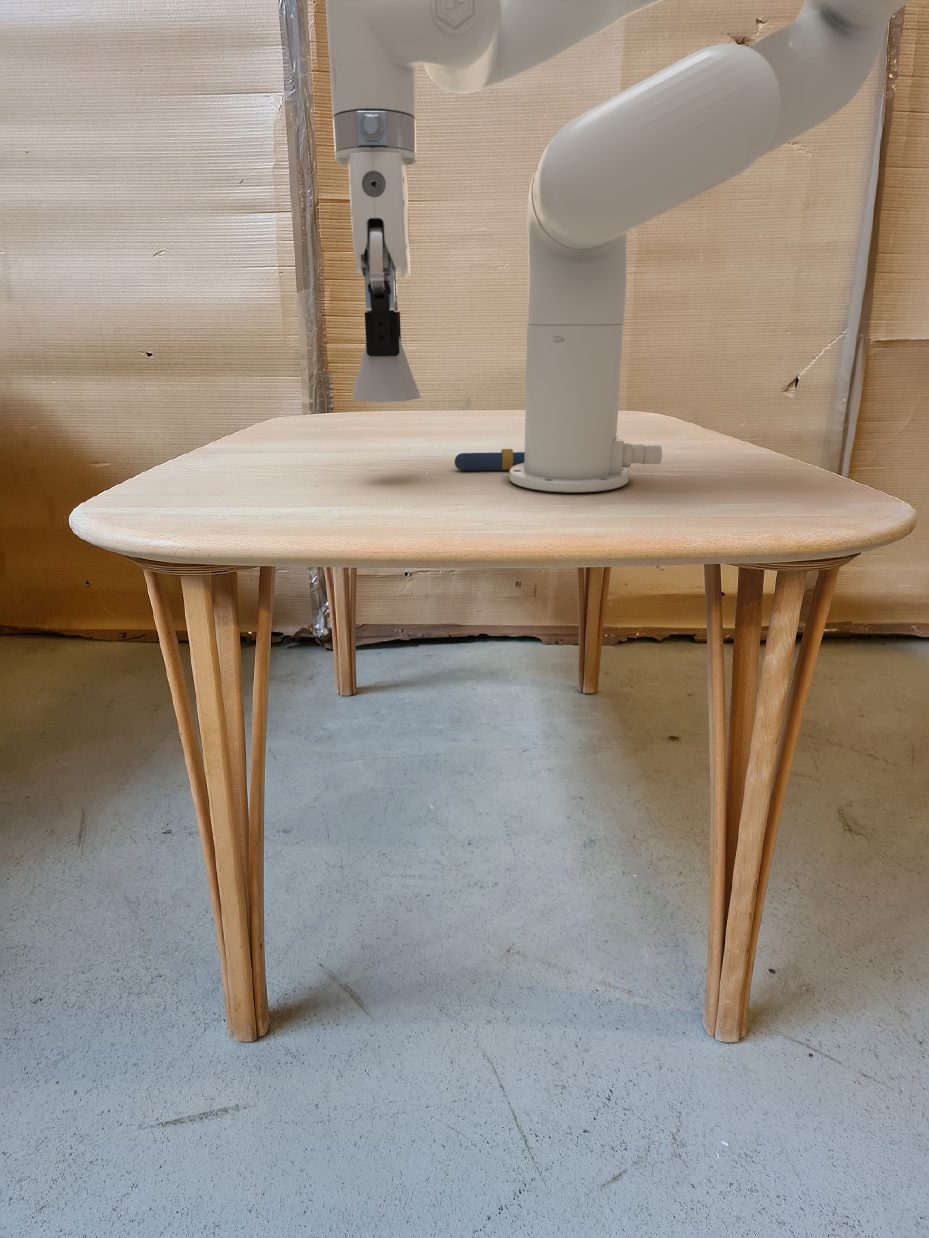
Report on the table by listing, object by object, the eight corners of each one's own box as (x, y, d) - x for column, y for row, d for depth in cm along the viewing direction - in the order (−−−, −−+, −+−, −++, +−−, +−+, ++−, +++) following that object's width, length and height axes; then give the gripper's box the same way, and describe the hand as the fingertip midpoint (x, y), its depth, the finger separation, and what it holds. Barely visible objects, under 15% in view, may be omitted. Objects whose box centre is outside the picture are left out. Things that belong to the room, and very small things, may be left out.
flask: (425, 396, 81) (423, 295, 78) (415, 404, 75) (411, 294, 71) (359, 396, 82) (353, 295, 78) (342, 404, 75) (335, 294, 72)
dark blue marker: (557, 467, 88) (558, 446, 88) (560, 471, 86) (561, 450, 85) (454, 468, 88) (454, 448, 87) (454, 473, 86) (454, 451, 85)
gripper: (414, 123, 62) (420, 359, 69) (418, 159, 78) (422, 350, 84) (322, 123, 62) (337, 360, 69) (344, 159, 77) (355, 351, 84)
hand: (384, 352), depth 77 cm, fingers closed on flask, 3 cm apart
